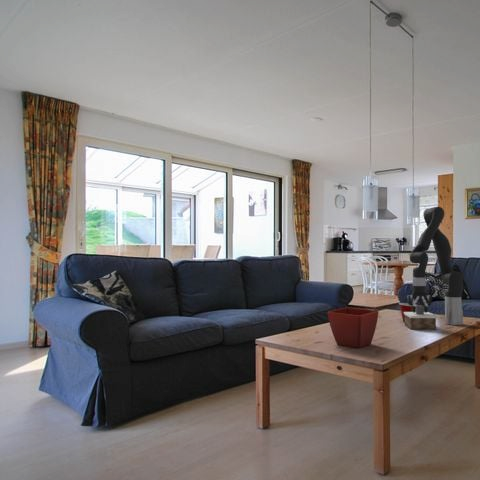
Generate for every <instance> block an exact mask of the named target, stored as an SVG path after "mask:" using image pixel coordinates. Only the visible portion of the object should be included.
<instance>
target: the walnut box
mask: <svg viewBox="0 0 480 480" xmlns="http://www.w3.org/2000/svg"><path fill="white" fill-rule="evenodd" d="M404 326H405V327H407V328H408V329H410V330H414V331H418V330H419V331H436V330H437V318H410V317H408V316H406V315H405V322H404Z"/></svg>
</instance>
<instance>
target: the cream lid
mask: <svg viewBox="0 0 480 480" xmlns="http://www.w3.org/2000/svg"><path fill="white" fill-rule="evenodd" d="M415 305H416V308H415V313H413V312H404V314H405V315H406V316H408V317H410V318H436V319H438V315H435V314H434V313H432V312H429V311H427V313H425V312H424V306H425V305H418V304H415Z"/></svg>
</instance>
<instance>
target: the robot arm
mask: <svg viewBox="0 0 480 480" xmlns="http://www.w3.org/2000/svg"><path fill="white" fill-rule="evenodd" d="M422 214H423V215H422V216H423V220H424V222H425V225H426V228H425V229H424V230H423V231H422V233H421V234H420V236H419V238H418V241H417V244H416V245H415V246H414V248H413V250H412V251H411V252H410V255H409V261H410V262H411V263H412V264H418V266H417V267H414V268H413V269H412V294H410V295H409V294H407V296H406V298H407V303H408V304H409V305H411V306H412V311H413V313H415V312H416V308H415V305H417V303H418V302H421V303H423V306H424V312H425V313H427V312H429V310H428V307H429V306H431V305H432V300H433V299H432V298H433V296H432V295H431V294H430V295H427V280H426V270H427V266H428V262H429V255H428V253H427V251H428V250H429V248H430V246H431V243H432V244H433V247H434V248H433V249H434V251H435V254H436V257H437V263H438V265H439V268H440V276H441V280H442V282H443V283H444V284H445V285H446V286H448V289H447V290H446V291H444V315H445V317H444V318H445V319H444V323H445V325H449V324H450V326H464V312H463V311H464V310H463V308H462V294H463V289H464V286H463V285H464V277H463V274H462V273H461V272H459V271H454V270H453V268H452V264H451V263H452V262H451V258H452V247H451V242H450V240H449V239H448V237H447V236H446V235H445V234H444V233H443V232H442V231H441V230H440V229H439V226H440V225H441V223H442V222H443V219H444V218H445V210H444V208H443V207H441V206H435V207H429V208H426V209H424V211H423V213H422ZM412 298H413V300H412ZM426 299H427V301H426Z"/></svg>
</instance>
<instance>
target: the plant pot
mask: <svg viewBox="0 0 480 480" xmlns="http://www.w3.org/2000/svg"><path fill="white" fill-rule="evenodd" d="M327 317H328V322H329V326H330V329H331V332H332V336H333V338H334V341H335V343H336V344H337V345H340V346H344V347H345V346H346V347H350V348H357V349H359V348H363V347H366V346H368V345H371V344H372V341H373V340H374V339H373V338H374V335H375V333H376V328H377V326H378V325H377V324H378V319H379V310H375V309H365V308H355V307H354V308H353V307H343V308H338V309H333V310H329V311H327Z"/></svg>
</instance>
